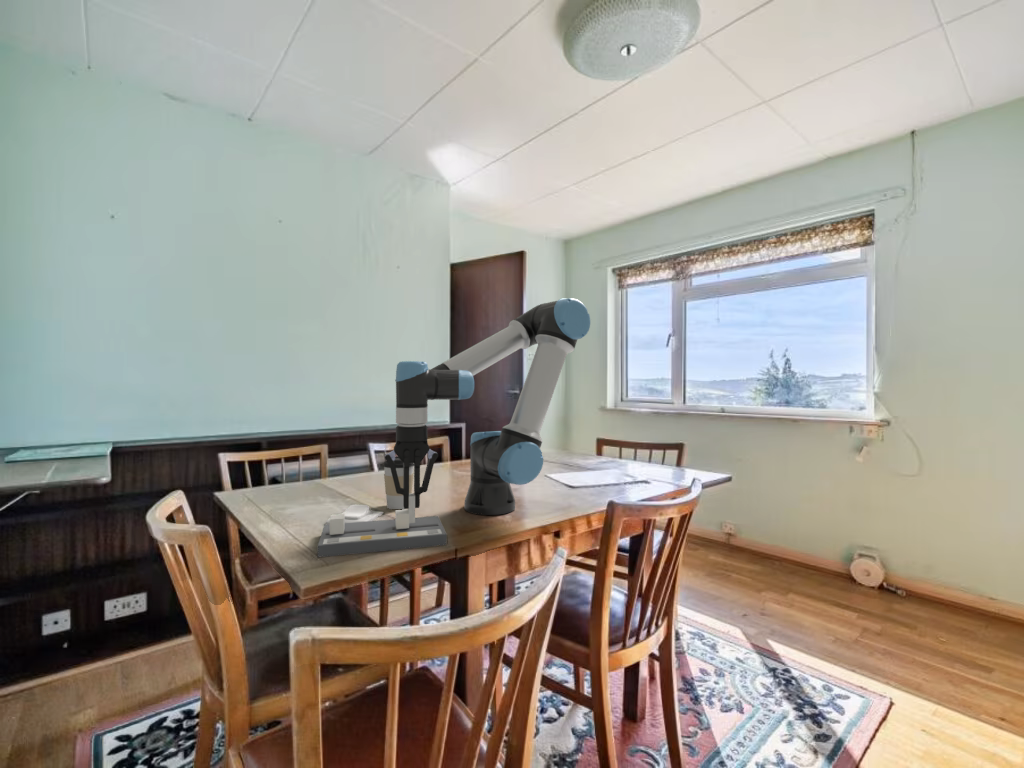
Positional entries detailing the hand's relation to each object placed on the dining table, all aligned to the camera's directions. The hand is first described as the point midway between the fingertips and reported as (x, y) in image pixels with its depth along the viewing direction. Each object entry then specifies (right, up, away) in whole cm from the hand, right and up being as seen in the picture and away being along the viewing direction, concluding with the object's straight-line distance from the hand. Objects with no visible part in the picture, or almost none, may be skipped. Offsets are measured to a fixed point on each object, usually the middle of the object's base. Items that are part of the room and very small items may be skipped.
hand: (411, 521), depth 115 cm
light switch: (-18, -4, +15) cm, 24 cm away
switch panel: (-6, -4, -2) cm, 8 cm away
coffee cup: (-10, -4, +27) cm, 29 cm away
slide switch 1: (-16, -1, -5) cm, 17 cm away
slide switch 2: (-2, -1, -1) cm, 2 cm away
